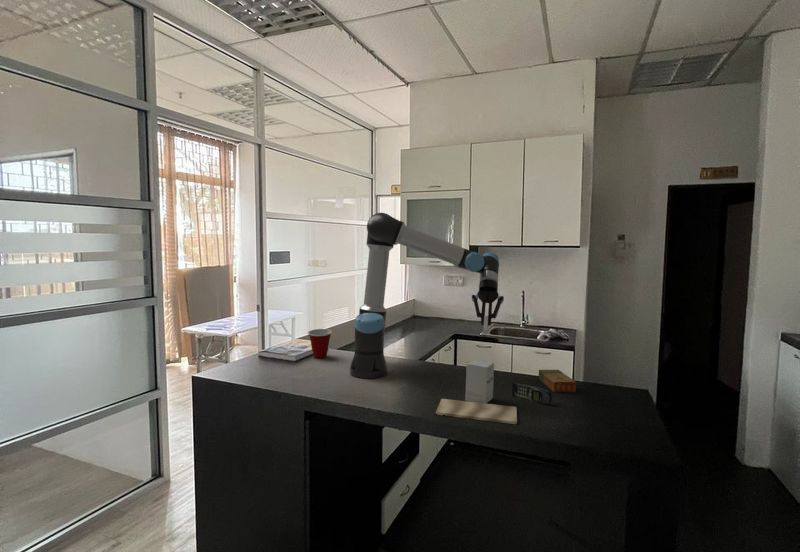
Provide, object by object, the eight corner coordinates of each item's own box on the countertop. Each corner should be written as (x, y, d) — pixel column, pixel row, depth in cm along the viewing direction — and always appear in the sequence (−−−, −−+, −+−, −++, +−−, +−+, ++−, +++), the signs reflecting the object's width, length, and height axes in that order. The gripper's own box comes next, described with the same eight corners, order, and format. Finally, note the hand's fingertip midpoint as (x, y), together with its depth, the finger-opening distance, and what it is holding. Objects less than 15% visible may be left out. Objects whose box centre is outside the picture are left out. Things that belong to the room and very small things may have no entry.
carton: (553, 393, 151) (553, 381, 151) (537, 379, 167) (538, 368, 167) (576, 393, 152) (576, 381, 151) (558, 379, 168) (558, 368, 167)
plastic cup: (303, 359, 188) (304, 332, 187) (312, 353, 199) (313, 328, 198) (327, 360, 186) (327, 334, 185) (334, 354, 197) (335, 329, 196)
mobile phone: (511, 383, 146) (553, 392, 136) (515, 381, 149) (557, 390, 139) (511, 397, 147) (553, 407, 137) (515, 394, 149) (557, 405, 139)
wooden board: (435, 414, 129) (435, 412, 129) (441, 400, 140) (441, 398, 140) (516, 424, 123) (517, 421, 123) (516, 409, 134) (516, 406, 134)
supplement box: (485, 405, 137) (487, 367, 136) (464, 400, 141) (465, 363, 140) (493, 399, 143) (494, 362, 142) (473, 394, 147) (474, 358, 146)
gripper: (504, 290, 176) (502, 338, 161) (472, 289, 179) (468, 335, 164) (504, 278, 170) (503, 327, 155) (472, 277, 173) (467, 324, 159)
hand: (485, 331), depth 160 cm, fingers closed
